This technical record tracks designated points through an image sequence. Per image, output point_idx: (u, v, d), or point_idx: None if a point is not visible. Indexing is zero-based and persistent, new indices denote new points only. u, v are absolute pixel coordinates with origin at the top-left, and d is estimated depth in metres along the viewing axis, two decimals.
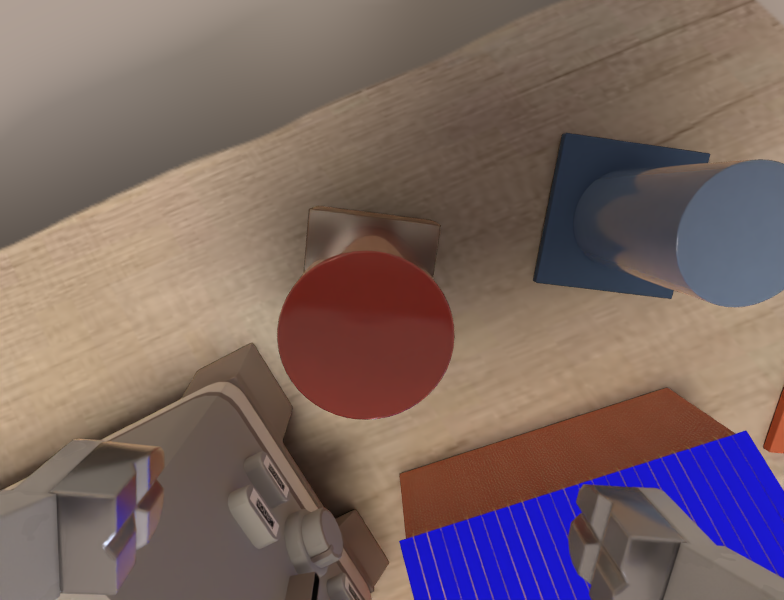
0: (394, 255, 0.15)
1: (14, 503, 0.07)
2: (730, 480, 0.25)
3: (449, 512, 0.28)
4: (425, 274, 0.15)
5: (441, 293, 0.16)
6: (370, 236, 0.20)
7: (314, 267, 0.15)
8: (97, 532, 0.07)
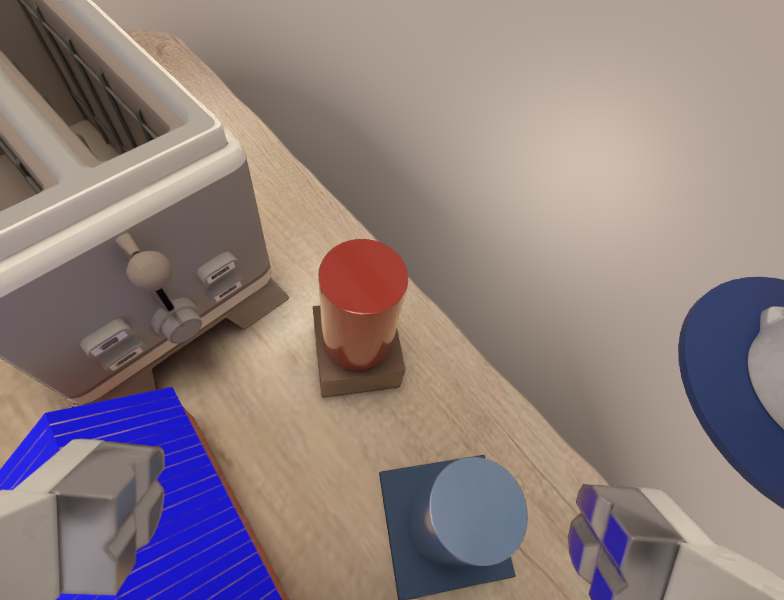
0: (407, 278, 0.32)
1: (14, 503, 0.07)
2: None
3: None
4: (403, 293, 0.31)
5: (396, 302, 0.31)
6: None
7: (391, 248, 0.33)
8: (97, 532, 0.07)
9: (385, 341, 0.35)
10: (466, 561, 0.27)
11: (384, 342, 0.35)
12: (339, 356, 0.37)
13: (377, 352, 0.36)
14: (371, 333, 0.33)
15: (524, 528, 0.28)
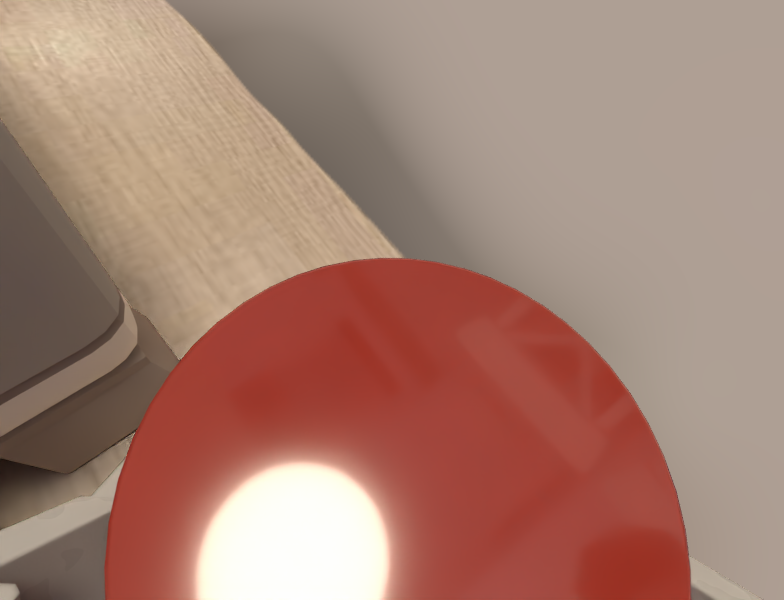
0: (677, 510, 0.05)
1: (96, 509, 0.07)
2: None
3: None
4: None
5: None
6: None
7: (551, 314, 0.06)
8: None
9: None
10: None
11: None
12: None
13: None
14: None
15: None
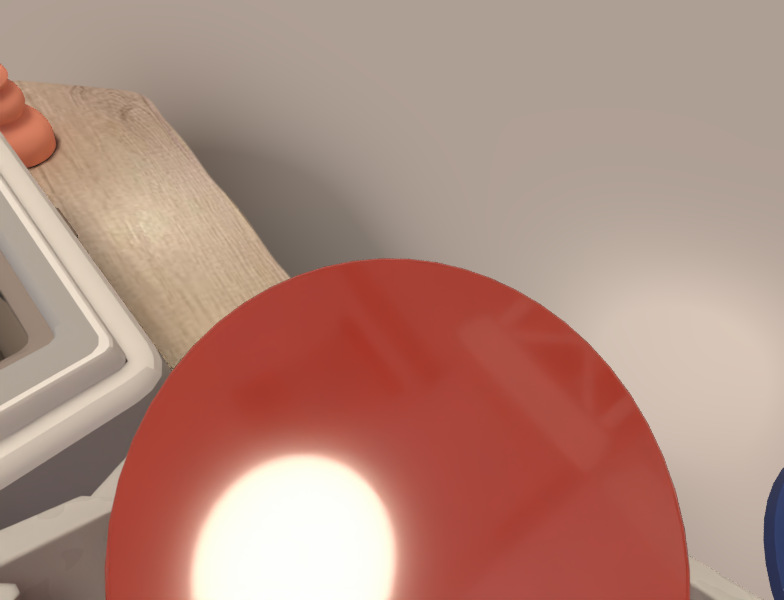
0: (676, 510, 0.05)
1: (96, 509, 0.07)
2: None
3: None
4: None
5: None
6: None
7: (551, 314, 0.06)
8: None
9: None
10: None
11: None
12: None
13: None
14: None
15: None
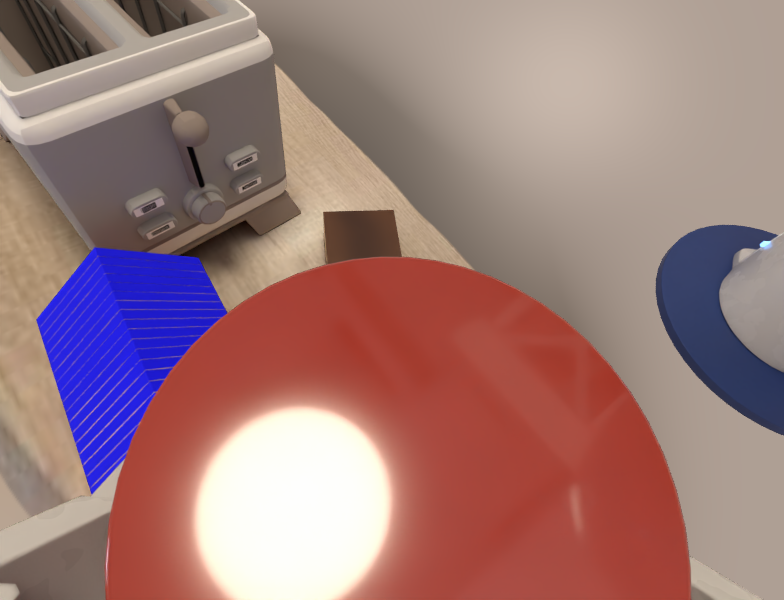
0: (677, 508, 0.05)
1: (96, 509, 0.07)
2: None
3: None
4: None
5: None
6: None
7: (552, 313, 0.06)
8: None
9: None
10: None
11: None
12: None
13: None
14: None
15: None
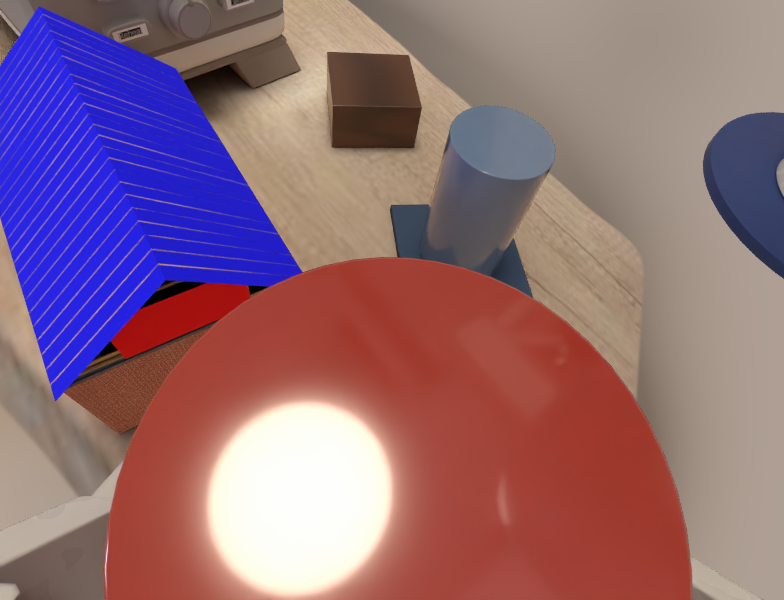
0: (678, 510, 0.05)
1: (96, 509, 0.07)
2: (263, 255, 0.23)
3: None
4: None
5: None
6: None
7: (552, 314, 0.06)
8: None
9: None
10: (489, 174, 0.25)
11: None
12: None
13: None
14: None
15: (552, 159, 0.26)
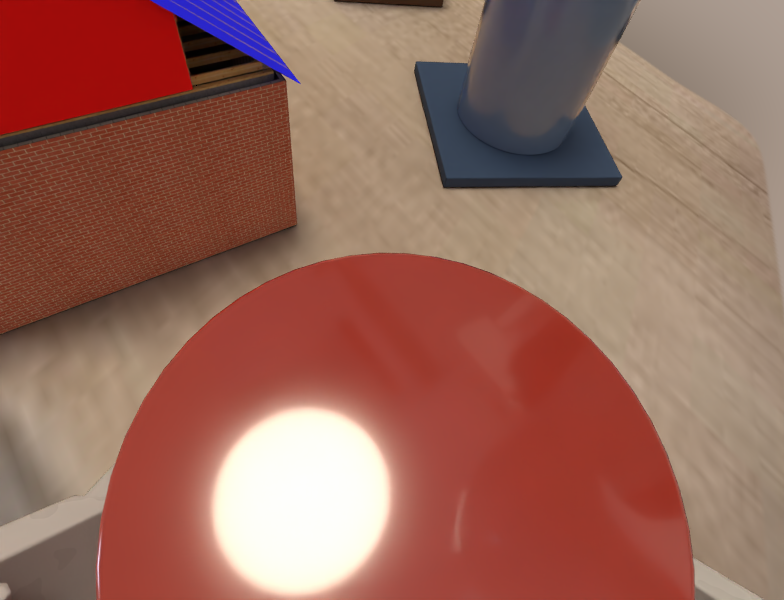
0: (680, 508, 0.05)
1: (89, 508, 0.07)
2: (215, 12, 0.13)
3: None
4: None
5: None
6: None
7: (552, 310, 0.06)
8: None
9: None
10: None
11: None
12: None
13: None
14: None
15: None
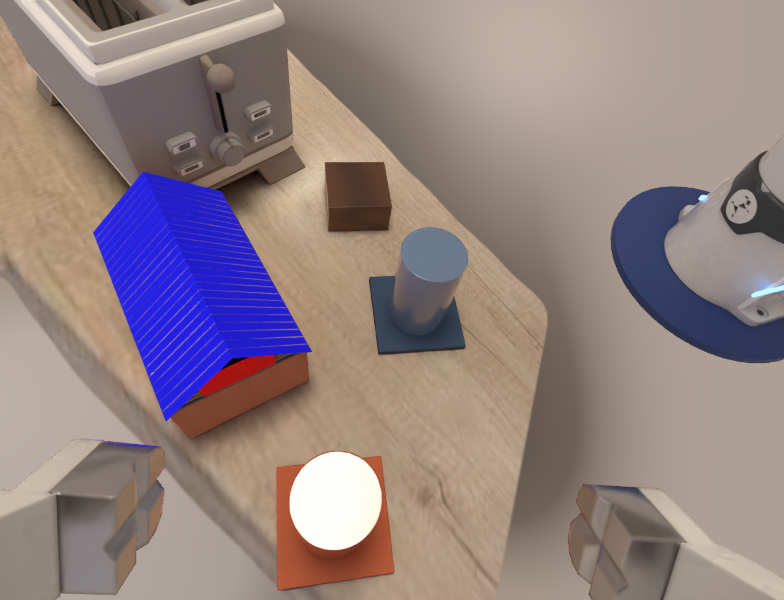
0: (382, 502, 0.30)
1: (14, 503, 0.07)
2: (282, 332, 0.39)
3: None
4: (376, 522, 0.30)
5: (368, 534, 0.29)
6: None
7: (367, 463, 0.32)
8: (97, 532, 0.07)
9: None
10: (423, 278, 0.40)
11: None
12: (311, 551, 0.35)
13: (350, 552, 0.35)
14: (342, 553, 0.31)
15: (464, 266, 0.41)
